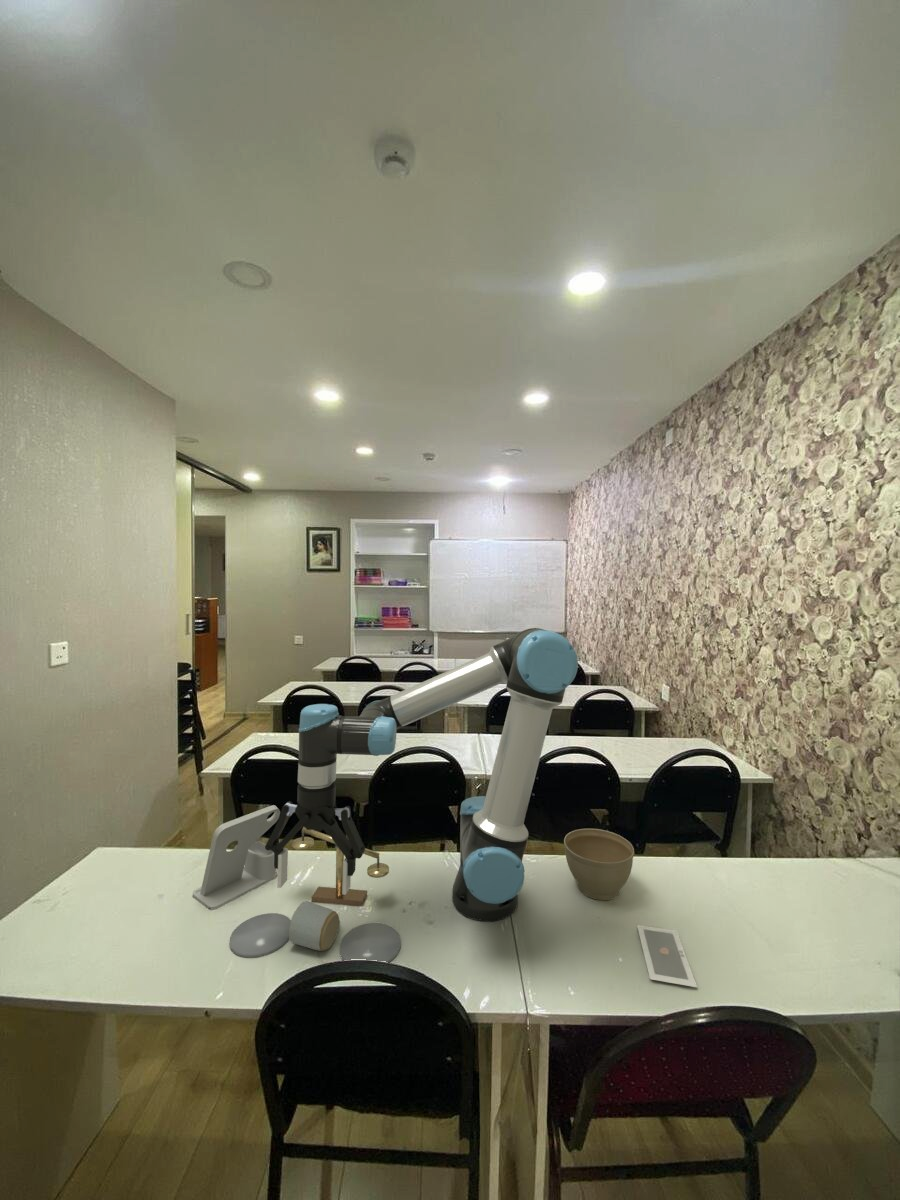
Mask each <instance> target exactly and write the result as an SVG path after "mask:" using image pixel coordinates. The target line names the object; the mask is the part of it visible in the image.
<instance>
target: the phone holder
mask: <svg viewBox="0 0 900 1200" xmlns="http://www.w3.org/2000/svg"><path fill="white" fill-rule="evenodd" d="M272 813H273V814H272ZM271 814H272V815H271ZM270 815H271V817H269V816H270ZM280 817H281V810H280V809H279V808H278V807H277V806H276V805H274V804H273V805H270V806H269V805H268V806H267V807H264V808H262V809H258V810H256V811H253V812H251V813H249V814H245V815H242V816H240V817H237V818H235V819H231V820H229V821H226V822H224V823H221V824H220V825H219V826H218V827H216V829H215V830H214V831H213V834H212V840H211V844H210V848H209V852H208V857H207V861H206V864H205V865H206V867H205V869H204V875H203V879H202V884H201V886H200V887H198V888H196V889H195V890H192V891H193V892H192V898H193V899H194V900H196V901H197V902H198V903H200V904H201V905H202V906H204V907H205V908H206V909H208V910H211V911H215V910H218V909H220V908H222V907H223V906H224V907H225V905H228V904H229V903H231V902H233V901H235V900H237V899H239V898H241V897H243V896H245V895H246V894H248V893H250V892H252V891H255V890H257V889H258V888H260V887H263V886H264V885H266V884H268V883H270V882H272V881H274V880H275V879H277V878H278V871H276V870H277V869H275V867H274V852H273V851H272V850H266V849H265V846H266V844H267V843H264V842H262V841H258V840H259V839H260V838H261V837H262V836H263V835H265V833H266V832H268V831H269V830H270V828H271V827H272V826H274V825H276V824H277V823H278V821H279V819H280ZM233 842H237V844H236V845H235V846H234V848H233V849H231V850H230V851H227V848H228V846H229V845H230V844H231V843H233Z"/></svg>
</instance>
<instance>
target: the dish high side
mask: <svg viewBox="0 0 900 1200" xmlns="http://www.w3.org/2000/svg"><path fill="white" fill-rule="evenodd" d="M290 922H291V919H290V918H289V917H288V916H287V915H285V914H282V913H273V912H271V913H270V912H268V913H263V914H258V915H255V916H253V917H250V918H248V919H246V920H244V921H243V922H241V923H240V924H239V925H237V926H236V927H235V928H234V929H233V931H232V932H231V934H230V936H229V948H230V951H231V952H232V953H233V954H234V955H236V956H237V957H240V958H246V959H255V958H260V957H261V958H262V957H264V956H268V955H270V954H272V953H275V952H276V951H278V950H280V949H281V948H282V947H284V946H285V945H286V944H287V943H288V941H290V939H289V927H290Z"/></svg>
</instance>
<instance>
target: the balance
mask: <svg viewBox="0 0 900 1200" xmlns="http://www.w3.org/2000/svg"><path fill="white" fill-rule="evenodd" d="M305 835H308V836H305ZM310 836H311V837H310ZM313 837H315V838H316V839H317V838H318V839H320V840H323V841H326V842H329V843H331V844H334V846H335V847H336V849H335V887H329V886H318V887H317V888H316V889H315V891H314V892H313V894H312V895H311V897H310V898H311V901H310V902H313V903H316V904H317V903H320V904H328V905H341V906H351V907H353V906H354V907H363V905H364V904H365V901H366V900H367V898H368V890H367V889H365V890H363V889H352V888H349V890H348V892H347V894H346V895H345V894H342V885H343V861H344V859H345V856H344V854H343V853H342V852H341V850H340V849H339V847H338V846H337V845H336V843H335V842H334V841H333V839H332V838H331V836H330V835H329V834H327V833H326V834H325V833H322V832H321V831H317V830H314V829H313V830H306V828H305V827H304V826H303V827H302V828H301V837H298V838H295V839H294V840H292V842H291V848H292V849H293V850H296V851H304V850H308V849H310V848H312V847H313V846H314V844H315V840H314V838H313ZM363 855H366V856H367V857H368V856H369V857H372V858H373V859H376V863H372V864H370V865H369V866H368V867H367V869H366V874H367V875H368V876H369V877H371V878H374V879H375V878H376V879H378V878H384V877H385V876H387V875H388V874H389V873H390V867H389V865H388V864H386V863H382V862H380V852H377V851H374V850H371V849H368V848H366V847H365V852H364V853H363Z"/></svg>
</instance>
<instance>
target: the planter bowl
mask: <svg viewBox="0 0 900 1200" xmlns="http://www.w3.org/2000/svg"><path fill="white" fill-rule="evenodd" d="M563 845H564V850H565V851H564V852H565V858H566V859H565V860H566V864H567V867H568V869H569V871H570V873H571V875H572V876H573V878H574V880H575V881H576V883H577V886H578V889H579V890H580V892H582V893H583V894H585V896H587V897H589V898H592V899H594V900H598V901H610V900H613V899H616V898H617V897H618V896H619V895H620V891H621V889H623V887H624V886H625V885H626V883H627V881H628V880H629V878H630V875H631V872H632V868H633V861H634V857H635V849H634V846H633V844H632V843H631V842H630V841H629V840H627V839H626V838H624V837H623V836H621V835H620V834H617V833H615V832H612V831H608V830H604V829H599V828H580V829H575V830H572V831H570V832H568V833H567V834H566V835H565V837H564V839H563Z"/></svg>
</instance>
